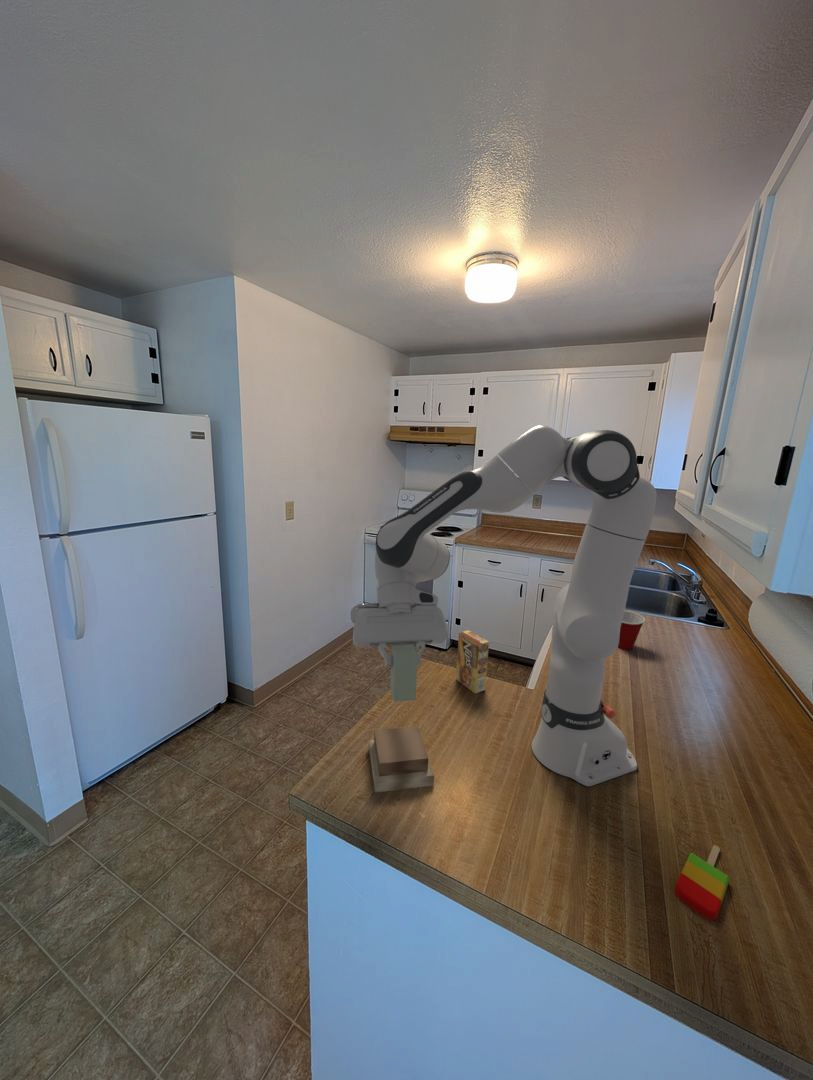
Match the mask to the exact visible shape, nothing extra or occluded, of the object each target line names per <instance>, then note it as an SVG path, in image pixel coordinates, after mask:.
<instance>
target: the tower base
mask: <svg viewBox="0 0 813 1080" xmlns="http://www.w3.org/2000/svg"><path fill="white" fill-rule="evenodd" d="M368 753H369V760H370V767H371V773H372V779H373V780H372V781H373V786H374V793H382V792H389V791H390V792H391V791H392V792H393V791H399V790H406V789H409V790H410V789H414V788H415V789H417V788H422V787H423V788H424V787H432V786H435V785H434V784H435V773H434V770H433V767H432V763H431V761H430V758H429V757H428V771H422V772H414V773H405V774H397V775H388V776H379V771H378V764H377V758H376V751H375V745H374V739H371V740H370V739H369V740H368Z"/></svg>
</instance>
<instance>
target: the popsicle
mask: <svg viewBox="0 0 813 1080" xmlns="http://www.w3.org/2000/svg"><path fill="white" fill-rule="evenodd" d="M720 851H721V848H720V847H719V846H718V845H716V844H713V846H712V847H711V850H710V853H709V856H708V858H707V859H706V860H707V861H705V860H704V859H702V858H701V857H699V856H698V855H696V854H695V853H693V852H690V853H689V856H688V857H687V860H686V862H685V864H684V866H683V868H682V870H681V873H680V875H679V877H678V879H677V880H676V881H677V882H676V883H675V888H674V891H675V892H674V893H675V894H676V896H677V898H679V900H680V901H682V902H683V903H685V904H686V905H687V906H689V907H690V908H691V909H693V910H694V911H695V912H697V913H698V914H700V915H701V916H703V918H706V919H708V920H709V921H710V920H711V921H714V920H717V918H718V916H719V912H720V910H721V907H722V904H723V900H724V898H725V894H726V892H727V889H728V885H729V882H730V877H729V875H728V874H726V873H724V872H722V870H719V869H718V868H717V867H715V864H716V862H717V858H718V856H719V853H720Z"/></svg>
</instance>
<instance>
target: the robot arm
mask: <svg viewBox="0 0 813 1080" xmlns="http://www.w3.org/2000/svg"><path fill="white" fill-rule="evenodd" d="M639 470H640V469H639V466H638V457H637V452H636V448H635V446H634V444H633V442H632V441H631V440H630V439H629V437H627V436H626V435H624V434H622V433H620V432H619V431H615V430H610V429H602V430H600V429H599V430H597V429H596V430H590V431H587V432H584V433H582V434H578V435H574V436H571V437H566V438H565V437H563V436H562V434H560V433H559V432H558V431H557V430H555V429H554V428H552V427H550V426H547V425H536V426H533V427H532V428H529V430H526V431H525V432H523V433H522V434H521V435H519V436H517V437H516V438H515V439H514V440H512V441H511V442H510V443H508V444H507V445H506V446H505V447H504V448H502V449H501V450H500V451H499V452H498V453H497V454H496V455H494V457H492V458H491V459H489V461H487V462H486V463H484V464H482V465H480V466H479V467H477V468H475V469H473V470H472V469H471V470H467V471H463V472H461V473H459V474H457V475H455V476H454V477H452V478H450V479H449V480H447V481H446V482H445V483H443V484H442V485H440V486H439V487H438V488H437V489H435V490H434V491H432V492H431V493H430V494H428V495H427V496H426V497H424V498H423V499H421V500H420V501H419V502H418V503H416V504H415V505H413V506H412V507H411V508H409V509H407V510H406V511H405V512H403V513H401V514H398V516H395V517H394V518H392V519H389V520H388V521H386V522H385V523H384V524H382V526H381V527H380V529H379V530H378V532H377V534H376V537H375V553H374V554H375V555H374V569H375V570H374V572H375V577H376V580H377V587H376V600H377V603H376V602H374V603H373V602H372V603H357V605H354V606H353V607H352V608H351V610H350V620H351V622H352V623H353V633H352V644H353V645H354V646H355V647H356V648H373V647H378V648H377V649H378V652H379V654H380V655H381V657H382V659H384V666H385V668H391V667H392V666H393V661H392V660H393V656H392V655H390V656H389V654H388V653H387V651H386V650H387V647H392V645H410V644H413V645H414V646H416V649H417V650H418V651H417V654H418V665H417V666H421V665H422V663H423V659H422V654H423V652H424V650H425V648H426V645H430V644H431V645H433V644H434V645H435V644H437V645H438V644H443V643H444V642H445V641H446V640H447V638H448V636H449V629H448V625H447V619H446V617H445V614H444V612H443V610H442V609H441V608H440V607H439V606H438V604H439V597H438V596H437V595H436V594H435V593H430V592H426V591H423V590H419V589H417V587H416V585H417V584H418V583H426V582H430V581H433V580H437V579H438V578H440V577H441V576H443V575H444V574H445V572H446V571H447V569H448V567H449V565H450V564H449V563H450V561H451V560H450V559H451V554H450V550H449V547H448V545H446V544H445V542H442V541H441V540H440V539H438V538H437V537H435V536H434V535H431V534H430V533H429V532H430V531H432V530H433V529H435V527H437V526H438V525H440V524H441V523H442V522H443V521H446V519H448V518H449V517H451V516H452V515H454V514H455V513H458V512H460V511H465V510H481V511H485V512H490V513H496V514H497V513H498V514H500V513H501V514H505V513H509V512H512V511H514V510H515V509H517V508H519V507H520V506H522V505H523V504H524V503H526V502H527V501H528V500H529V499H531V497H533V496H534V495H535V494H536V493H537V492H539V490H541V489H542V488H543V487H544V485H546V484H547V483H549V482H551V481H553V480H554V479H557V478H564V479H565V480H567V481H568V482H570V483H572V484H574V485H576V486H577V487H580V488H583V489H587V490H589V491H590V492H591V493H592V494H591V495H592V507H591V508H592V509H591V511H590V514H589V516H588V519H587V521H586V524H585V527H584V531H583V533H582V537H581V539H580V542H579V544H578V547H577V551H576V553H575V556H574V560H573V565H572V571H571V576H570V580H569V583H567V584H565V585H563V587H561V588H560V589H559V591H558V593H557V594H556V598H555V600H554V608H553V617H552V629H551V640H550V641H551V642H550V656H549V657H550V658H549V667H548V675H547V682H546V688H545V689H544V692H543V697H542V698H543V699H542V704H541V705H542V706H541V719H540V722H539V725H538V729H537V731H536V733H535V736H534V738H533V739H532V742H531V749H532V752H533V755H534V756H535V758H537V760H538V761H539V762H540V763H541V764H542V765H543V766H544V767H546V768H547V769H549V770H551V771H552V772H554V773H556V774H558V775H561V776H565V777H567V778H570V779H573V780H575V781H576V782H578V783H579V784H581V785H583V786H586V787H592V786H595V785H597V784H601V783H604V782H606V781H609V780H612V779H614V778H618V777H620V776H623V775H626V774H629V773H631V772H635V771H636V770H637V769H638V764H637V763H638V762H637V760H636V757H635V756H634V755H633V753H632V752H631V751H630V749H629V748H628V745H627V744H628V743H627V740H626V737H625V735H624V733H623V732H622V730H620V728H619V727H618V726H617V725H616V724H615V723H614V722H613V721H611V719H614V718H615V717H616V715H617V712H616V710H615V709H613V708H612V707H611V706H610V705H605V704H604V702H603V701H602V700H601V699H602V698H601V697H602V691H603V687H604V686H603V685H604V678H605V660H606V659H609V658H610V657H611V656H612V655H613V654H615V652H616V651H617V649H618V644H619V636H620V627H621V623H622V619H623V615H624V611H626V606H627V601H628V597H629V596H628V595H629V590H630V586H631V581H632V579H633V578H632V577H633V575H634V572H635V569H636V566H637V564H638V561H639V558H640V555H641V553H642V550H643V549H644V545H645V542H646V540H647V537H648V535H649V532H650V529H651V526H652V523H653V519H654V514H655V510H656V504H657V495H658V494H657V489H656V488H655V486H654V484H652V483H651V482H649V481H648V480H647V479H645V478H643V477H641V475H640V471H639Z"/></svg>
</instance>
